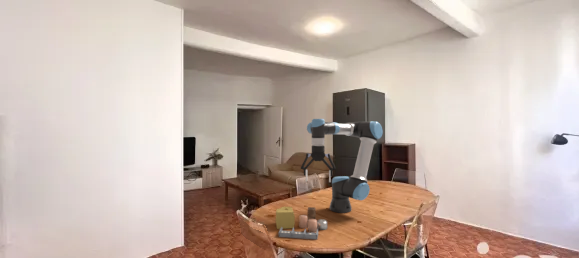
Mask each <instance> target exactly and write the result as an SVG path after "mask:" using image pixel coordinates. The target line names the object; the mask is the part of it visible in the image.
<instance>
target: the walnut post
mask: <svg viewBox="0 0 579 258" xmlns="http://www.w3.org/2000/svg"><path fill="white" fill-rule="evenodd" d="M307 216H308V220H309V219H316V207H311V206H308V207H307Z"/></svg>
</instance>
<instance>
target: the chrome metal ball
mask: <svg viewBox="0 0 579 258" xmlns="http://www.w3.org/2000/svg"><path fill="white" fill-rule="evenodd" d="M316 220H317V219H316ZM317 229H318V231H326V230H328V220H326V219H324V218H323V219H321V218H320V219H318V220H317Z"/></svg>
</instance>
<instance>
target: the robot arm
mask: <svg viewBox="0 0 579 258" xmlns="http://www.w3.org/2000/svg"><path fill="white" fill-rule="evenodd" d="M306 130H307V132H308V133H309V134H311V153H309V152H307V153H306V154H305V158H304V160H303V162H302V164H301V166H300V170H303V176H305V182H308V169H307V168H309V167H310V165H311V164H312V163H313V162H314V161H315V162H323V164H324V165H325V166H326V167H327V168H328V169H329V170H328V173H329V174H328V177H329V178H328V183H331V194H332V195H331V201H330V204H329V210H330V211H331V212H334V213H338V214H339V213H340V214H345V213H347V214H348V213H350V212H352V204H351V201H350V199H353V200H356V201H364V200H365V199H366V198H367V197H368V196H369V193H370V185H369V183H368V179H367V175H368V172H369V171H368V170H369V167H370V161H371V158H372V153H373V149H374V146H375V144H377V142H378V140H380V139H381V138H382V136H383V133H384V131H383V127H382V124H381V123H379V121H374V120H372V121H354V122H345V123H340V122H339V123H338V122H336V121H335V122H334V121H325V119H324V118H313V119H311V122H309V123H308V124H307V126H306ZM325 135H345V136H346V137H347V136H348V137H349V136H350V137H355V138H359V140H360V145H359V148H358V153H357V156H356V160H355V164H354V165H355V166H354V170H353V174H352V175H350V176H347V175H346V176H345V175H344V176H343V175H342V176H341V175H340V176H334V177H333V175H334V174H333V171H335V170H336V165H335V163H334V162H333V159H332V157H331V153H326V152H325V151H326V150H325V149H326V148H325V141H326V140H325ZM310 157H311V160H310V161H308V159H309V158H310ZM325 157H326V158H327V159H328V161H329V163H330V164H329V163H328V162H327V160H326V159H325ZM307 161H308V163H307ZM306 163H307V164H306ZM331 177H333V178H332V179H331Z"/></svg>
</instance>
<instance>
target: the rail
mask: <svg viewBox="0 0 579 258" xmlns="http://www.w3.org/2000/svg"><path fill="white" fill-rule="evenodd" d="M278 238H291V239H303V240H304V239H306V240H307V239H308V240H318V238H319V229H317V232H315V233H312V232H309V231H307V228H304V231H296V230H295V227H294V228H291V230H284V229H283V227H281V229H279V231H278Z"/></svg>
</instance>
